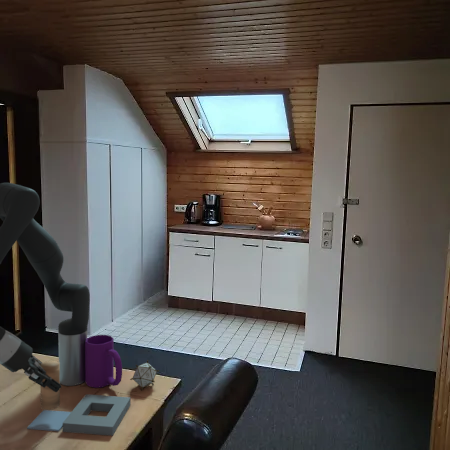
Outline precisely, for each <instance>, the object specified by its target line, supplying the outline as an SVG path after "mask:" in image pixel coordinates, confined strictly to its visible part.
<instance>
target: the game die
mask: <svg viewBox="0 0 450 450" xmlns="http://www.w3.org/2000/svg"><path fill="white" fill-rule="evenodd" d="M159 371H160V370H159V369H158V370H156V368H154V367H153V366H152V365H151V364H150V363H149V359H147V361H146V362H144V363H142V364H140V365H138V364H135V370H134V373H133V376H132V377H131V378H130V379H129V380H130V381H132V380H133V381H134V382H135V383H136V384H137V385H138V386H139V387H140V390H141V391H143V390H144V389H143V388H145V387H147V386H150V385H152V386H154V383H155V377H156V375H157V373H158V372H159Z"/></svg>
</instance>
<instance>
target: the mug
mask: <svg viewBox="0 0 450 450" xmlns="http://www.w3.org/2000/svg"><path fill="white" fill-rule="evenodd" d="M114 342H115V341H114V337H112V336H111V335H109V334H96V335H92V336H90V337H87V339H86V341H85V380H86V381H85V384H86V385H87V386H88V387H91V388H95V389H97V388H98V389H101V388H104V387H107V386H109V385H110V386H114V387H115V386H118V385H119V384H120V383H121V382H122V378H123V363H122V358H121V356H120V354H119V352H118V351H117V350H116V349H114V345H115V344H114ZM114 365H115V366H114ZM114 367H115V377H114Z"/></svg>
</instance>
